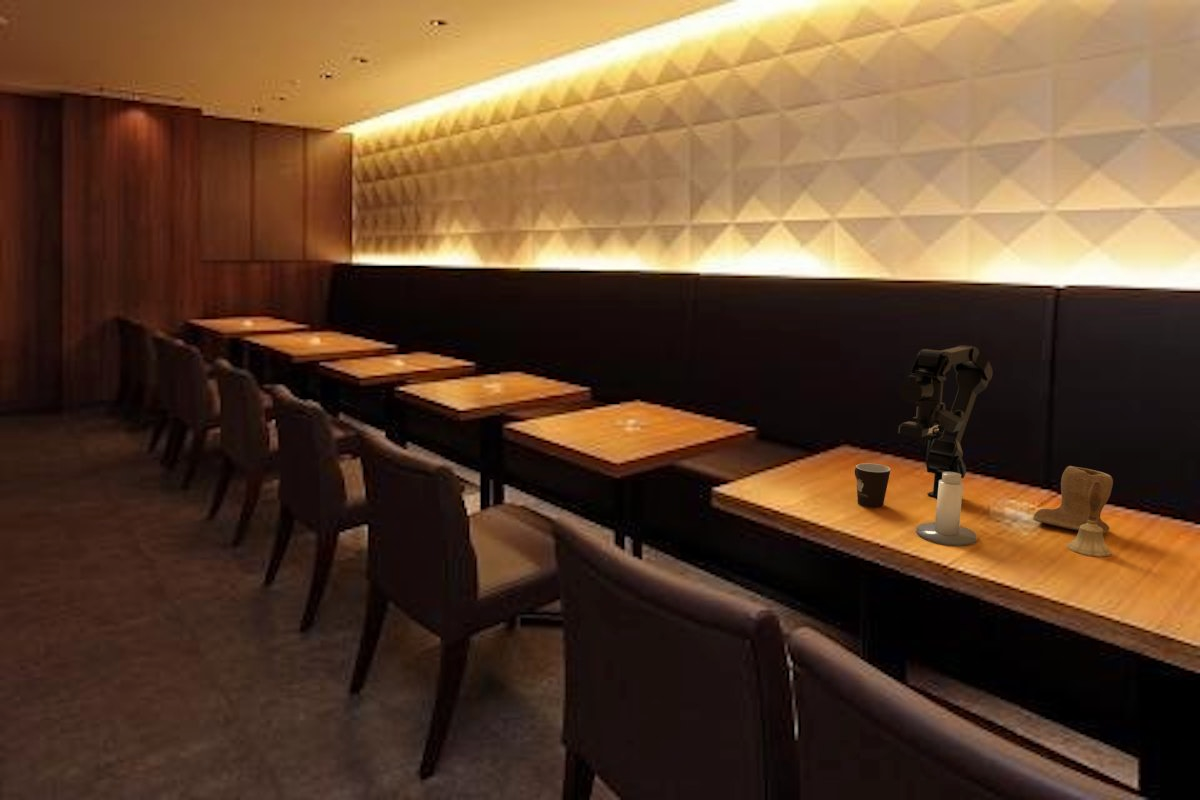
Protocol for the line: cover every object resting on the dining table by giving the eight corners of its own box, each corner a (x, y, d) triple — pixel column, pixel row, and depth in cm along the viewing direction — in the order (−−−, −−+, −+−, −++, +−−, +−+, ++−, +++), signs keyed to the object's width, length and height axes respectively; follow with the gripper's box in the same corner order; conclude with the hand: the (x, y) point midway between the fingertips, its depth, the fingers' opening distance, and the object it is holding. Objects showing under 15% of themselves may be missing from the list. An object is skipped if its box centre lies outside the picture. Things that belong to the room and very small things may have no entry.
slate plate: (932, 522, 194) (932, 518, 193) (986, 537, 184) (986, 532, 184) (905, 534, 185) (906, 530, 185) (960, 550, 176) (961, 545, 175)
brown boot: (1113, 528, 191) (1121, 468, 188) (1104, 541, 182) (1112, 478, 179) (1043, 514, 201) (1050, 457, 198) (1031, 526, 192) (1038, 466, 189)
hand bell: (1059, 543, 180) (1067, 476, 177) (1093, 543, 181) (1101, 476, 178) (1083, 557, 172) (1092, 487, 169) (1119, 556, 173) (1129, 486, 170)
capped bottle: (947, 526, 188) (952, 470, 185) (963, 534, 183) (969, 476, 180) (929, 529, 186) (934, 471, 184) (945, 536, 181) (950, 477, 179)
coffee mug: (890, 510, 203) (893, 473, 201) (855, 508, 204) (857, 471, 202) (883, 497, 214) (886, 461, 212) (850, 495, 215) (852, 459, 214)
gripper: (943, 407, 189) (937, 470, 192) (977, 399, 202) (971, 458, 204) (899, 401, 198) (895, 461, 201) (935, 393, 210) (930, 449, 213)
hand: (924, 457), depth 204 cm, fingers closed
